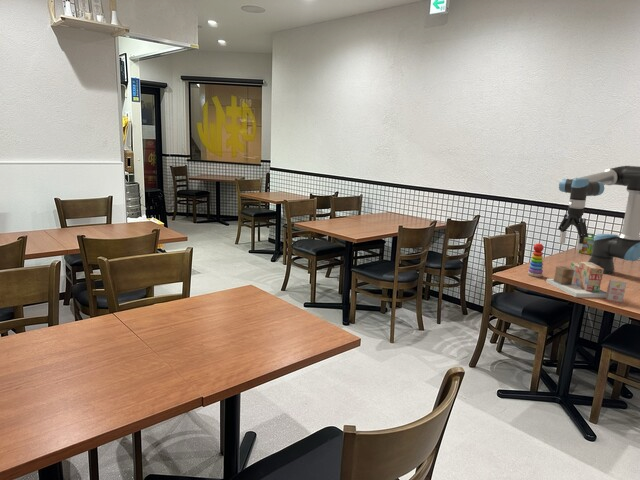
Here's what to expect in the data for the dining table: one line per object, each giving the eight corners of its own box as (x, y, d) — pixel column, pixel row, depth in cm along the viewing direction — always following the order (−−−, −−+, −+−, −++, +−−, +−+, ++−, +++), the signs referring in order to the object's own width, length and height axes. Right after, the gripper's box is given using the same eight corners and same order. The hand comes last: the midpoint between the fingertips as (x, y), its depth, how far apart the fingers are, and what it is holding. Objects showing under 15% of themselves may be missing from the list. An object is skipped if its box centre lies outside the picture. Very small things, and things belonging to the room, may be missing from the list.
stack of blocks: (568, 278, 244) (572, 257, 242) (580, 279, 244) (584, 258, 241) (586, 290, 224) (590, 267, 221) (599, 292, 223) (604, 268, 220)
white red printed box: (605, 298, 221) (609, 278, 219) (621, 301, 218) (625, 281, 216) (606, 300, 218) (610, 280, 216) (622, 303, 215) (626, 283, 213)
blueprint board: (576, 282, 245) (577, 278, 245) (608, 297, 222) (609, 293, 222) (546, 282, 243) (546, 278, 243) (575, 297, 220) (576, 292, 219)
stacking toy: (541, 274, 258) (546, 243, 254) (543, 278, 251) (548, 245, 247) (526, 272, 261) (531, 241, 257) (528, 276, 253) (533, 244, 249)
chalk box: (578, 253, 323) (582, 233, 320) (580, 251, 330) (583, 231, 327) (593, 255, 317) (597, 235, 314) (594, 253, 325) (598, 233, 321)
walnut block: (564, 280, 240) (566, 266, 238) (571, 284, 234) (574, 269, 232) (553, 280, 239) (556, 266, 237) (560, 284, 233) (563, 269, 231)
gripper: (554, 203, 247) (549, 240, 252) (586, 211, 223) (579, 252, 228) (567, 204, 248) (561, 240, 253) (600, 211, 224) (593, 251, 229)
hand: (570, 246), depth 240 cm, fingers open, 13 cm apart
